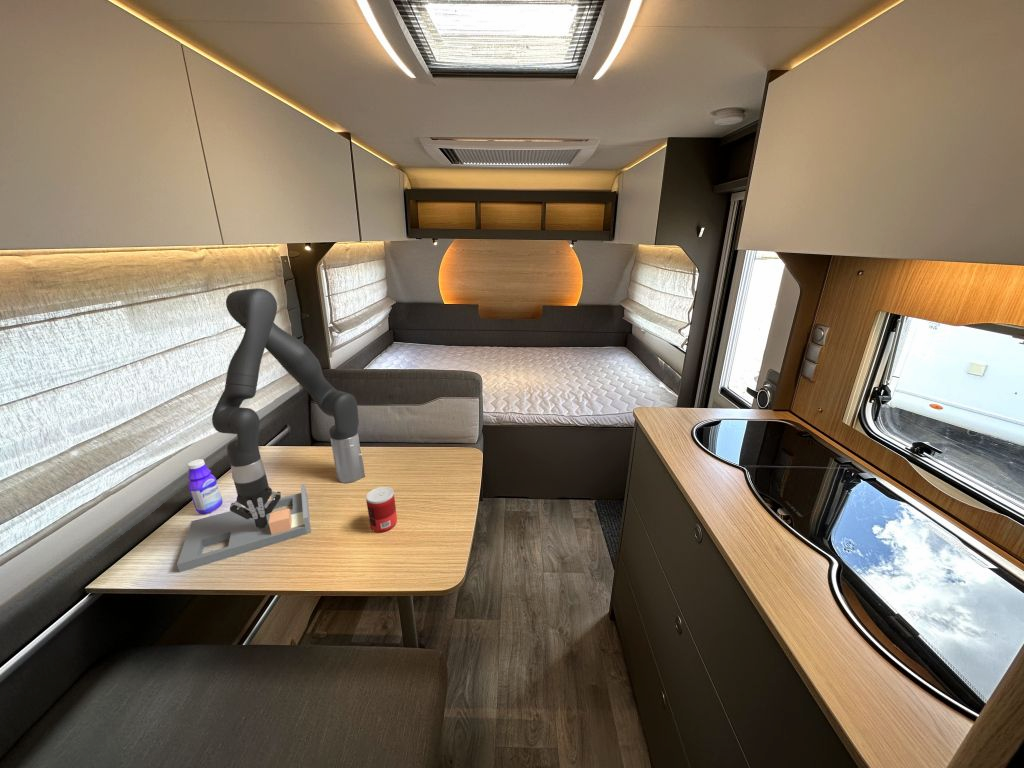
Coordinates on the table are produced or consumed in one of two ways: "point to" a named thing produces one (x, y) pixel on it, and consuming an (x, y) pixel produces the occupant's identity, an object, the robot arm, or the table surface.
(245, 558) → the table surface
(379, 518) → the canned food
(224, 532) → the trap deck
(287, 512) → the block
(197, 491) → the bottle
